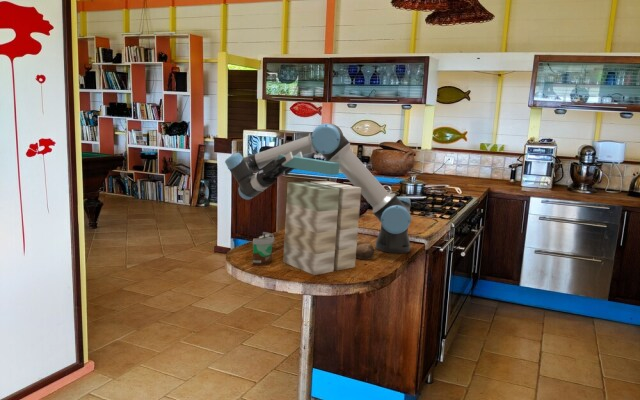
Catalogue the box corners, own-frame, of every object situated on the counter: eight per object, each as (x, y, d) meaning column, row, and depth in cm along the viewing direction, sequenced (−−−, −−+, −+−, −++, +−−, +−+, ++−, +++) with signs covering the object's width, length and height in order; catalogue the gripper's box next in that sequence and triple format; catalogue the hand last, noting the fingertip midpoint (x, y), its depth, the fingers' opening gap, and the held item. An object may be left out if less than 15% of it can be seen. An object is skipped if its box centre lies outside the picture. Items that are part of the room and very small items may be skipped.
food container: (267, 267, 180) (269, 240, 179) (251, 265, 181) (252, 238, 180) (277, 258, 192) (279, 233, 191) (262, 257, 193) (263, 231, 192)
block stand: (283, 262, 188) (287, 182, 184) (322, 255, 202) (328, 181, 197) (314, 275, 175) (320, 189, 170) (354, 267, 188) (361, 187, 184)
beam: (277, 165, 193) (278, 154, 193) (286, 165, 196) (286, 154, 195) (329, 174, 171) (330, 163, 171) (338, 174, 174) (339, 163, 173)
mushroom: (363, 246, 208) (364, 236, 203) (377, 257, 204) (378, 247, 199) (349, 256, 204) (350, 247, 200) (364, 268, 200) (365, 258, 196)
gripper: (283, 186, 209) (316, 164, 192) (248, 188, 198) (280, 164, 181) (278, 170, 211) (311, 146, 194) (243, 170, 200) (275, 145, 183)
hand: (296, 155), depth 188 cm, fingers closed on beam, 4 cm apart
